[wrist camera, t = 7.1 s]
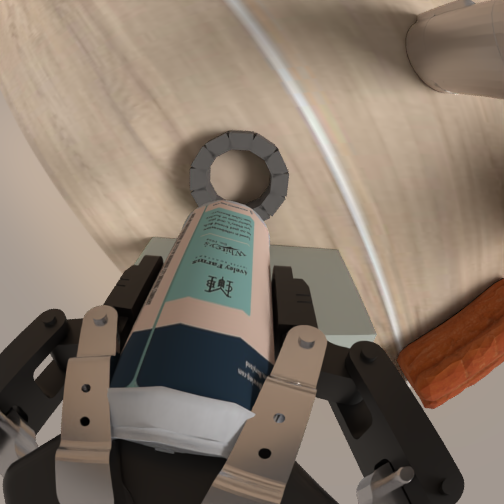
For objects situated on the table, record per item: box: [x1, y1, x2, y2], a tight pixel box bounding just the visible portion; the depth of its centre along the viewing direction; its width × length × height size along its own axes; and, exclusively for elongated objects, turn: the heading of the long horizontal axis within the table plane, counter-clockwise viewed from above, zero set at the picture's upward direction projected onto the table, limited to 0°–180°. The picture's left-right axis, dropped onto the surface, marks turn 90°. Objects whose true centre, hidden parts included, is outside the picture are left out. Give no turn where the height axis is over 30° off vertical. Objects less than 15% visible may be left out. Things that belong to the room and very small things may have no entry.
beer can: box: [107, 200, 275, 459], centre depth 10 cm, size 5×5×12 cm
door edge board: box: [134, 237, 377, 348], centre depth 27 cm, size 2×22×14 cm, turn 86°
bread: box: [397, 279, 504, 409], centre depth 36 cm, size 16×27×11 cm, turn 128°
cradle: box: [190, 131, 289, 221], centre depth 27 cm, size 9×9×2 cm
